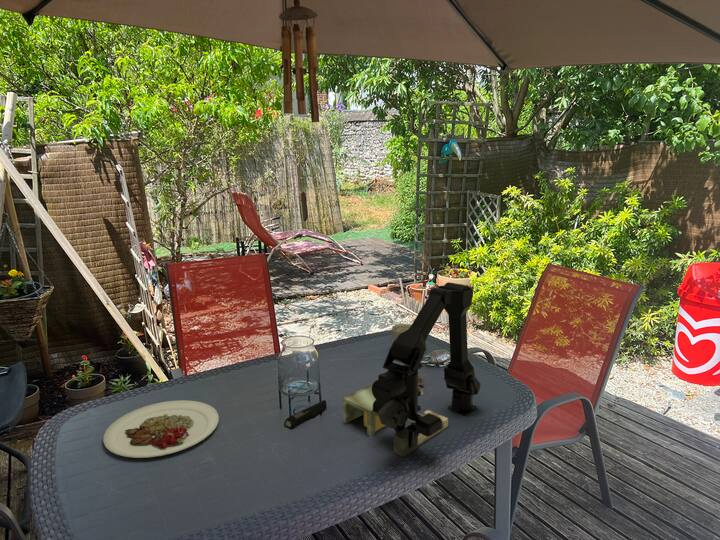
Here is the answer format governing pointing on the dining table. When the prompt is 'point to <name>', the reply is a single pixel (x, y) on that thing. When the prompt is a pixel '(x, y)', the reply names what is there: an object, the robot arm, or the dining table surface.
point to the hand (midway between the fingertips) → (406, 444)
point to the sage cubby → (360, 407)
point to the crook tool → (403, 439)
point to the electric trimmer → (304, 414)
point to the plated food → (161, 429)
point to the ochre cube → (377, 421)
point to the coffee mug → (399, 330)
